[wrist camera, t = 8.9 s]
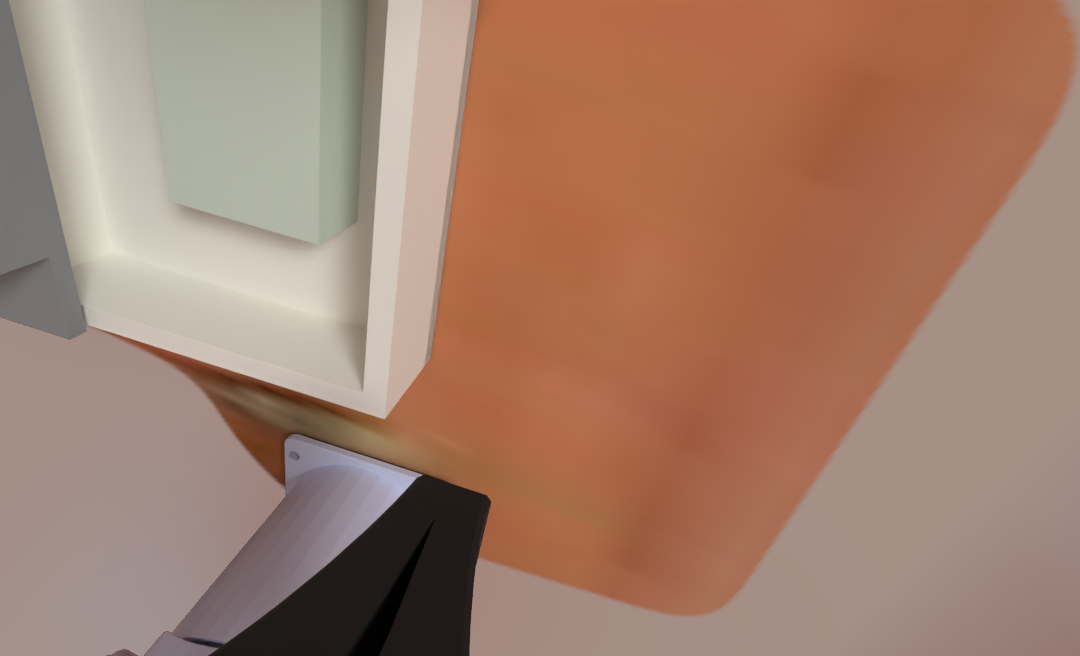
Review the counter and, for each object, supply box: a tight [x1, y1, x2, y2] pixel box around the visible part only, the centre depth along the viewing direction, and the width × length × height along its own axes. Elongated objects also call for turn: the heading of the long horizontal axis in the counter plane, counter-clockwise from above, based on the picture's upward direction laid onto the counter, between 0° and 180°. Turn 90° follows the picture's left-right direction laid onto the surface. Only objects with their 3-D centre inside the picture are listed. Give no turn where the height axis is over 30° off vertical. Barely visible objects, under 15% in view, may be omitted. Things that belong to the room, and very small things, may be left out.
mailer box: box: [9, 0, 479, 419], centre depth 16 cm, size 18×14×4 cm
